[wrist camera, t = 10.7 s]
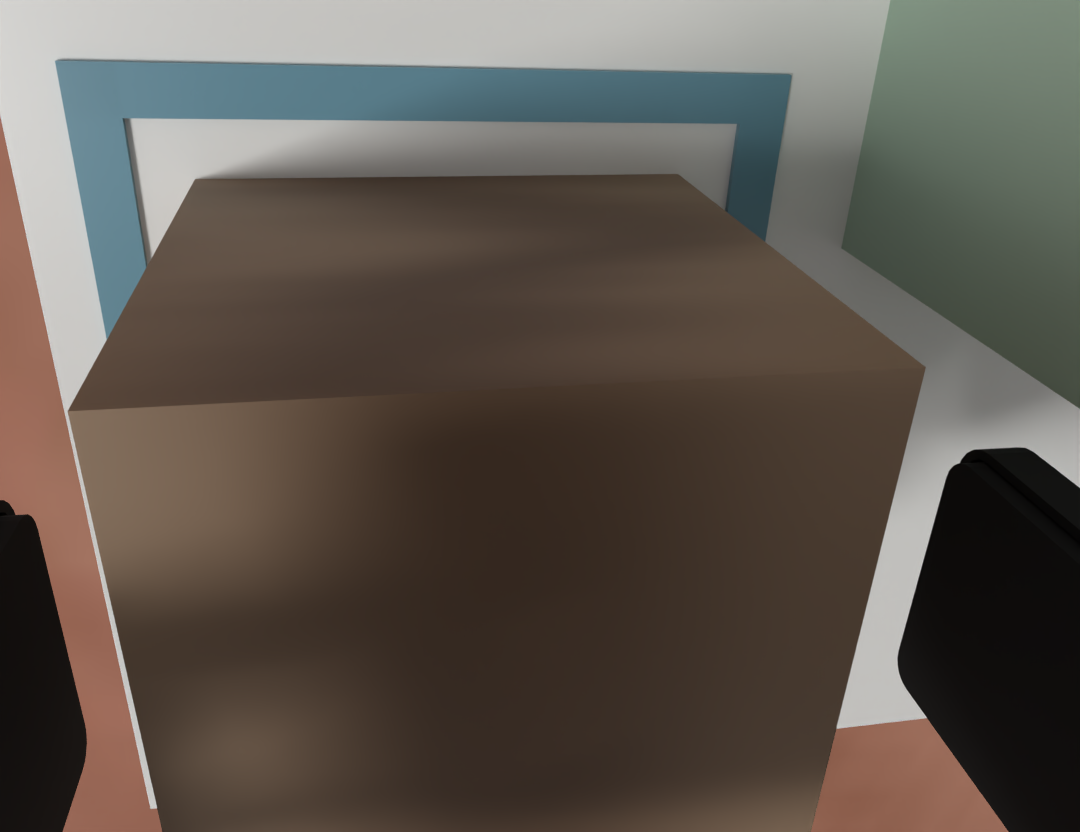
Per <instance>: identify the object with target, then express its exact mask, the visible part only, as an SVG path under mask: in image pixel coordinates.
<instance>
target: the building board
mask: <svg viewBox="0 0 1080 832" xmlns="http://www.w3.org/2000/svg"><path fill="white" fill-rule="evenodd" d="M889 5H890V0H0V116H1V121H2V125H3V130H4V135H5V139H6V144H7V148H8V153H9V158H10V162H11V167H12V172H13V176H14V181H15V185H16V190H17V195H18V199H19V204H20V208H21V213H22V218H23V222H24V227H25V232H26V236H27V241H28V245H29V250H30V255H31V259H32V264H33V268H34V273H35V278H36V282H37V287H38V291H39V296H40V301H41V305H42V310H43V315H44V319H45V324H46V328H47V333H48V338H49V342H50V347H51V351H52V356H53V361H54V365H55V370H56V375H57V379H58V384H59V388H60V393H61V398H62V402H63V407H64V411H65V416H66V421H67V425H68V430H69V435H70V439H71V444H72V448H73V453H74V458H75V462H76V467H77V471H78V476H79V481H80V485H81V490H82V494H83V499H84V504H85V508H86V513H87V518H88V522H89V527H90V531H91V536H92V541H93V545H94V550H95V554H96V559H97V564H98V568H99V573H100V578H101V582H102V587H103V591H104V596H105V601H106V605H107V610H108V614H109V619H110V624H111V628H112V633H113V638H114V642H115V647H116V651H117V656H118V661H119V665H120V670H121V674H122V679H123V684H124V688H125V693H126V697H127V702H128V707H129V711H130V716H131V721H132V725H133V730H134V734H135V739H136V744H137V748H138V753H139V757H140V762H141V767H142V771H143V776H144V781H145V785H146V790H147V794H148V799H149V804H150V808H151V809H153V808H157V805H156V801H155V796H154V792H153V787H152V783H151V778H150V774H149V770H148V765H147V761H146V756H145V752H144V747H143V743H142V739H141V734H140V730H139V725H138V721H137V716H136V712H135V708H134V703H133V699H132V694H131V690H130V686H129V681H128V677H127V672H126V668H125V663H124V659H123V655H122V650H121V646H120V641H119V637H118V632H117V628H116V624H115V619H114V615H113V610H112V606H111V601H110V597H109V593H108V588H107V584H106V579H105V575H104V570H103V566H102V562H101V557H100V553H99V548H98V544H97V540H96V535H95V531H94V526H93V522H92V517H91V513H90V509H89V504H88V500H87V495H86V491H85V486H84V482H83V478H82V473H81V469H80V464H79V460H78V455H77V451H76V447H75V442H74V438H73V433H72V429H71V425H70V420H69V416H68V410H69V408H70V406H71V404H72V402H73V400H74V399H75V397H76V395H77V393H78V391H79V389H80V388H81V386H82V384H83V382H84V380H85V379H86V377H87V375H88V373H89V371H90V369H91V368H92V366H93V364H94V362H95V360H96V358H97V357H98V355H99V353H100V351H101V349H102V348H103V346H104V344H105V342H106V340H107V338H108V337H109V335H110V333H111V331H112V329H113V328H114V326H115V324H116V322H117V320H118V318H119V317H120V315H121V313H122V311H123V309H124V307H125V306H126V304H127V302H128V300H129V298H130V297H131V295H132V293H133V291H134V289H135V287H136V286H137V284H138V282H139V280H140V278H141V277H142V275H143V273H144V271H145V269H146V267H147V266H148V264H149V262H150V260H151V258H152V256H153V255H154V253H155V251H156V249H157V247H158V246H159V244H160V242H161V240H162V238H163V236H164V235H165V233H166V231H167V229H168V227H169V226H170V224H171V222H172V220H173V218H174V216H175V215H176V213H177V211H178V209H179V207H180V205H181V204H182V202H183V200H184V198H185V196H186V195H187V193H188V191H189V189H190V187H191V185H192V184H193V182H194V180H195V179H252V178H345V177H438V176H532V175H625V174H679V175H680V176H681V177H682V178H684V179H685V180H686V181H688V182H689V183H690V184H691V185H693V186H694V187H695V188H697V189H698V190H699V191H700V192H702V193H703V194H704V195H706V196H707V197H708V198H709V199H711V200H712V201H713V202H715V203H716V204H717V205H718V206H720V207H721V208H722V209H723V210H725V211H726V212H727V213H729V214H730V215H731V216H732V217H734V218H735V219H736V220H738V221H739V222H740V223H741V224H743V225H744V226H745V227H747V228H748V229H749V230H750V231H752V232H753V233H754V234H756V235H757V236H758V237H759V238H761V239H762V240H763V241H765V242H766V243H767V244H768V245H770V246H771V247H772V248H774V249H775V250H776V251H777V252H779V253H780V254H781V255H782V256H784V257H785V258H786V259H788V260H789V261H790V262H791V263H793V264H794V265H795V266H797V267H798V268H799V269H800V270H802V271H803V272H804V273H806V274H807V275H808V276H809V277H811V278H812V279H813V280H815V281H816V282H817V283H818V284H820V285H821V286H822V287H824V288H825V289H826V290H827V291H829V292H830V293H831V294H833V295H834V296H835V297H836V298H838V299H839V300H840V301H841V302H843V303H844V304H845V305H847V306H848V307H849V308H850V309H852V310H853V311H854V312H856V313H857V314H858V315H859V316H861V317H862V318H863V319H865V320H866V321H867V322H868V323H870V324H871V325H872V326H874V327H875V328H876V329H877V330H879V331H880V332H881V333H883V334H884V335H885V336H886V337H888V338H889V339H890V340H892V341H893V342H894V343H895V344H897V345H898V346H899V347H900V348H902V349H903V350H904V351H906V352H907V353H908V354H909V355H911V356H912V357H913V358H915V359H916V360H917V361H918V362H920V363H921V364H922V365H924V366H925V367H926V369H925V373H924V377H923V381H922V385H921V389H920V393H919V397H918V401H917V405H916V409H915V413H914V417H913V421H912V425H911V429H910V433H909V437H908V441H907V445H906V449H905V453H904V457H903V461H902V466H901V470H900V474H899V478H898V482H897V486H896V490H895V494H894V498H893V502H892V506H891V510H890V514H889V518H888V522H887V526H886V530H885V534H884V538H883V542H882V546H881V550H880V554H879V558H878V562H877V566H876V570H875V574H874V578H873V582H872V587H871V591H870V595H869V599H868V603H867V607H866V611H865V615H864V619H863V623H862V627H861V631H860V635H859V639H858V643H857V647H856V651H855V655H854V659H853V663H852V667H851V671H850V675H849V679H848V683H847V687H846V691H845V695H844V699H843V703H842V708H841V712H840V716H839V720H838V724H837V728H836V729H838V728H846V727H855V726H863V725H872V724H880V723H889V722H897V721H906V720H915V719H923V718H927V717H926V716H925V714H924V713H923V712H922V710H921V709H920V707H919V706H918V705H917V703H916V702H915V701H914V699H913V698H912V696H911V695H910V694H909V692H908V691H907V689H906V688H905V686H904V684H903V683H902V680H901V677H900V675H899V670H898V661H897V657H898V651H899V647H900V643H901V640H902V636H903V633H904V629H905V625H906V622H907V618H908V614H909V611H910V607H911V604H912V600H913V596H914V593H915V589H916V585H917V582H918V578H919V575H920V571H921V567H922V564H923V560H924V556H925V553H926V549H927V546H928V542H929V538H930V535H931V531H932V527H933V524H934V520H935V517H936V513H937V509H938V506H939V502H940V498H941V495H942V491H943V488H944V484H945V480H946V477H947V475H948V472H949V470H950V469H951V468H952V467H953V466H954V465H956V464H958V463H960V461H961V459H962V458H963V457H964V456H965V455H966V453H968V452H970V451H972V450H975V449H995V448H1014V447H1021V448H1027V449H1029V450H1031V451H1033V452H1034V453H1036V454H1037V455H1038V456H1039V457H1041V458H1042V459H1043V460H1045V461H1046V462H1047V463H1048V464H1050V465H1051V466H1052V467H1054V468H1055V469H1056V470H1057V471H1059V472H1060V473H1061V474H1063V475H1064V476H1065V477H1066V478H1068V479H1069V480H1070V481H1072V482H1073V483H1074V484H1075V485H1077V486H1078V487H1079V488H1080V409H1079V408H1078V407H1076V406H1075V405H1073V404H1072V403H1070V402H1069V401H1067V400H1066V399H1064V398H1063V397H1061V396H1060V395H1058V394H1057V393H1055V392H1054V391H1052V390H1051V389H1050V388H1048V387H1047V386H1045V385H1044V384H1042V383H1041V382H1039V381H1038V380H1036V379H1035V378H1033V377H1032V376H1030V375H1029V374H1027V373H1026V372H1024V371H1023V370H1021V369H1020V368H1018V367H1017V366H1015V365H1014V364H1012V363H1011V362H1009V361H1008V360H1006V359H1005V358H1003V357H1002V356H1001V355H999V354H998V353H996V352H995V351H993V350H992V349H990V348H989V347H987V346H986V345H984V344H983V343H981V342H980V341H978V340H977V339H975V338H974V337H972V336H971V335H969V334H968V333H966V332H965V331H963V330H962V329H960V328H959V327H957V326H956V325H954V324H953V323H952V322H950V321H949V320H947V319H946V318H944V317H943V316H941V315H940V314H938V313H937V312H935V311H934V310H932V309H931V308H929V307H928V306H926V305H925V304H923V303H922V302H920V301H919V300H917V299H916V298H914V297H913V296H911V295H910V294H908V293H907V292H905V291H904V290H903V289H901V288H900V287H898V286H897V285H895V284H894V283H892V282H891V281H889V280H888V279H886V278H885V277H883V276H882V275H880V274H879V273H877V272H876V271H874V270H873V269H871V268H870V267H868V266H867V265H865V264H864V263H862V262H861V261H859V260H858V259H856V258H855V257H854V256H852V255H851V254H849V253H848V252H846V251H845V250H843V249H842V248H841V247H842V242H843V237H844V232H845V227H846V222H847V217H848V212H849V207H850V202H851V197H852V192H853V187H854V182H855V177H856V171H857V166H858V161H859V156H860V151H861V146H862V141H863V136H864V131H865V126H866V121H867V116H868V111H869V106H870V101H871V96H872V91H873V86H874V81H875V76H876V71H877V65H878V60H879V55H880V50H881V45H882V40H883V35H884V30H885V25H886V20H887V15H888V10H889Z"/></svg>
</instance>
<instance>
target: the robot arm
mask: <svg viewBox="0 0 1080 832" xmlns="http://www.w3.org/2000/svg"><path fill="white" fill-rule="evenodd" d="M897 661H898V670H899V675H900V677H901V680H902V683H903V684H904V686H905V688H906V689H907V691H908V692H909V694H910V695H911V696H912V698H913V699H914V701H915V702H916V703H917V705H918V706H919V707H920V709H921V710H922V712H923V713H924V714H925V716H926V717H927V719H928V720H929V721H930V723H931V724H932V726H933V727H934V728H935V730H936V731H937V733H938V734H939V735H940V737H941V738H942V739H943V741H944V742H945V744H946V745H947V746H948V748H949V749H950V751H951V752H952V753H953V755H954V756H955V758H956V759H957V760H958V762H959V763H960V764H961V766H962V767H963V769H964V770H965V771H966V773H967V774H968V776H969V777H970V778H971V780H972V781H973V783H974V784H975V785H976V787H977V788H978V790H979V791H980V792H981V794H982V795H983V796H984V798H985V799H986V801H987V802H988V803H989V805H990V806H991V808H992V809H993V810H994V812H995V813H996V815H997V816H998V817H999V819H1000V820H1001V821H1002V823H1003V824H1004V826H1005V827H1006V828H1007V830H1008V831H1009V832H1080V488H1079V487H1078V486H1077V485H1075V484H1074V483H1073V482H1072V481H1070V480H1069V479H1068V478H1066V477H1065V476H1064V475H1063V474H1061V473H1060V472H1059V471H1057V470H1056V469H1055V468H1054V467H1052V466H1051V465H1050V464H1048V463H1047V462H1046V461H1045V460H1043V459H1042V458H1041V457H1039V456H1038V455H1037V454H1036V453H1034V452H1033V451H1031V450H1029V449H1027V448H1021V447H1014V448H995V449H975V450H972V451H970V452H968V453H966V455H965V456H964V457H963V458H962V459H961V461H960V463H958V464H956V465H954V466H953V467H952V468H951V469H950V470H949V472H948V475H947V477H946V480H945V484H944V488H943V491H942V495H941V498H940V502H939V506H938V509H937V513H936V517H935V520H934V524H933V527H932V531H931V535H930V538H929V542H928V546H927V549H926V553H925V556H924V560H923V564H922V567H921V571H920V575H919V578H918V582H917V585H916V589H915V593H914V596H913V600H912V604H911V607H910V611H909V614H908V618H907V622H906V625H905V629H904V633H903V636H902V640H901V643H900V647H899V651H898V657H897ZM86 745H87V738H86V728H85V723H84V719H83V715H82V710H81V706H80V702H79V698H78V694H77V690H76V686H75V682H74V677H73V673H72V669H71V665H70V661H69V657H68V653H67V648H66V644H65V640H64V636H63V632H62V628H61V624H60V620H59V615H58V611H57V607H56V603H55V599H54V595H53V591H52V586H51V582H50V578H49V574H48V570H47V566H46V562H45V558H44V553H43V549H42V545H41V541H40V537H39V533H38V529H37V526H36V523H35V521H34V519H33V518H32V517H31V516H30V515H28V514H27V515H15V513H14V510H13V509H12V507H11V506H10V504H9V503H7V502H6V501H4V500H0V832H63V828H64V825H65V822H66V819H67V816H68V813H69V810H70V807H71V804H72V801H73V798H74V795H75V792H76V789H77V786H78V783H79V779H80V776H81V773H82V770H83V767H84V763H85V757H86Z"/></svg>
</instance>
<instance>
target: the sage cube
mask: <svg viewBox="0 0 1080 832" xmlns="http://www.w3.org/2000/svg"><path fill="white" fill-rule="evenodd" d="M841 248H842V249H843V250H845V251H846V252H848V253H849V254H851V255H852V256H854V257H855V258H856V259H858V260H859V261H861V262H862V263H864V264H865V265H867V266H868V267H870V268H871V269H873V270H874V271H876V272H877V273H879V274H880V275H882V276H883V277H885V278H886V279H888V280H889V281H891V282H892V283H894V284H895V285H897V286H898V287H900V288H901V289H903V290H904V291H905V292H907V293H908V294H910V295H911V296H913V297H914V298H916V299H917V300H919V301H920V302H922V303H923V304H925V305H926V306H928V307H929V308H931V309H932V310H934V311H935V312H937V313H938V314H940V315H941V316H943V317H944V318H946V319H947V320H949V321H950V322H952V323H953V324H954V325H956V326H957V327H959V328H960V329H962V330H963V331H965V332H966V333H968V334H969V335H971V336H972V337H974V338H975V339H977V340H978V341H980V342H981V343H983V344H984V345H986V346H987V347H989V348H990V349H992V350H993V351H995V352H996V353H998V354H999V355H1001V356H1002V357H1003V358H1005V359H1006V360H1008V361H1009V362H1011V363H1012V364H1014V365H1015V366H1017V367H1018V368H1020V369H1021V370H1023V371H1024V372H1026V373H1027V374H1029V375H1030V376H1032V377H1033V378H1035V379H1036V380H1038V381H1039V382H1041V383H1042V384H1044V385H1045V386H1047V387H1048V388H1050V389H1051V390H1052V391H1054V392H1055V393H1057V394H1058V395H1060V396H1061V397H1063V398H1064V399H1066V400H1067V401H1069V402H1070V403H1072V404H1073V405H1075V406H1076V407H1078V408H1079V409H1080V0H890V5H889V10H888V15H887V20H886V25H885V30H884V35H883V40H882V45H881V50H880V55H879V60H878V65H877V71H876V76H875V81H874V86H873V91H872V96H871V101H870V106H869V111H868V116H867V121H866V126H865V131H864V136H863V141H862V146H861V151H860V156H859V161H858V166H857V171H856V177H855V182H854V187H853V192H852V197H851V202H850V207H849V212H848V217H847V222H846V227H845V232H844V237H843V242H842V247H841Z"/></svg>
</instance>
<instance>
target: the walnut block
mask: <svg viewBox="0 0 1080 832" xmlns="http://www.w3.org/2000/svg"><path fill="white" fill-rule="evenodd" d="M925 369H926V367H925V366H924V365H922V364H921V363H920V362H918V361H917V360H916V359H915V358H913V357H912V356H911V355H909V354H908V353H907V352H906V351H904V350H903V349H902V348H900V347H899V346H898V345H897V344H895V343H894V342H893V341H892V340H890V339H889V338H888V337H886V336H885V335H884V334H883V333H881V332H880V331H879V330H877V329H876V328H875V327H874V326H872V325H871V324H870V323H868V322H867V321H866V320H865V319H863V318H862V317H861V316H859V315H858V314H857V313H856V312H854V311H853V310H852V309H850V308H849V307H848V306H847V305H845V304H844V303H843V302H841V301H840V300H839V299H838V298H836V297H835V296H834V295H833V294H831V293H830V292H829V291H827V290H826V289H825V288H824V287H822V286H821V285H820V284H818V283H817V282H816V281H815V280H813V279H812V278H811V277H809V276H808V275H807V274H806V273H804V272H803V271H802V270H800V269H799V268H798V267H797V266H795V265H794V264H793V263H791V262H790V261H789V260H788V259H786V258H785V257H784V256H782V255H781V254H780V253H779V252H777V251H776V250H775V249H774V248H772V247H771V246H770V245H768V244H767V243H766V242H765V241H763V240H762V239H761V238H759V237H758V236H757V235H756V234H754V233H753V232H752V231H750V230H749V229H748V228H747V227H745V226H744V225H743V224H741V223H740V222H739V221H738V220H736V219H735V218H734V217H732V216H731V215H730V214H729V213H727V212H726V211H725V210H723V209H722V208H721V207H720V206H718V205H717V204H716V203H715V202H713V201H712V200H711V199H709V198H708V197H707V196H706V195H704V194H703V193H702V192H700V191H699V190H698V189H697V188H695V187H694V186H693V185H691V184H690V183H689V182H688V181H686V180H685V179H684V178H682V177H681V176H680V175H679V174H625V175H532V176H438V177H345V178H252V179H195V180H194V182H193V184H192V185H191V187H190V189H189V191H188V193H187V195H186V196H185V198H184V200H183V202H182V204H181V205H180V207H179V209H178V211H177V213H176V215H175V216H174V218H173V220H172V222H171V224H170V226H169V227H168V229H167V231H166V233H165V235H164V236H163V238H162V240H161V242H160V244H159V246H158V247H157V249H156V251H155V253H154V255H153V256H152V258H151V260H150V262H149V264H148V266H147V267H146V269H145V271H144V273H143V275H142V277H141V278H140V280H139V282H138V284H137V286H136V287H135V289H134V291H133V293H132V295H131V297H130V298H129V300H128V302H127V304H126V306H125V307H124V309H123V311H122V313H121V315H120V317H119V318H118V320H117V322H116V324H115V326H114V328H113V329H112V331H111V333H110V335H109V337H108V338H107V340H106V342H105V344H104V346H103V348H102V349H101V351H100V353H99V355H98V357H97V358H96V360H95V362H94V364H93V366H92V368H91V369H90V371H89V373H88V375H87V377H86V379H85V380H84V382H83V384H82V386H81V388H80V389H79V391H78V393H77V395H76V397H75V399H74V400H73V402H72V404H71V406H70V408H69V410H68V416H69V420H70V425H71V429H72V433H73V438H74V442H75V447H76V451H77V455H78V460H79V464H80V469H81V473H82V478H83V482H84V486H85V491H86V495H87V500H88V504H89V509H90V513H91V517H92V522H93V526H94V531H95V535H96V540H97V544H98V548H99V553H100V557H101V562H102V566H103V570H104V575H105V579H106V584H107V588H108V593H109V597H110V601H111V606H112V610H113V615H114V619H115V624H116V628H117V632H118V637H119V641H120V646H121V650H122V655H123V659H124V663H125V668H126V672H127V677H128V681H129V686H130V690H131V694H132V699H133V703H134V708H135V712H136V716H137V721H138V725H139V730H140V734H141V739H142V743H143V747H144V752H145V756H146V761H147V765H148V770H149V774H150V778H151V783H152V787H153V792H154V796H155V801H156V805H157V809H158V814H159V818H160V823H161V827H162V831H163V832H811V829H812V824H813V820H814V816H815V812H816V808H817V804H818V800H819V796H820V792H821V788H822V784H823V780H824V776H825V772H826V768H827V764H828V760H829V756H830V752H831V748H832V744H833V740H834V736H835V732H836V728H837V724H838V720H839V716H840V712H841V708H842V703H843V699H844V695H845V691H846V687H847V683H848V679H849V675H850V671H851V667H852V663H853V659H854V655H855V651H856V647H857V643H858V639H859V635H860V631H861V627H862V623H863V619H864V615H865V611H866V607H867V603H868V599H869V595H870V591H871V587H872V582H873V578H874V574H875V570H876V566H877V562H878V558H879V554H880V550H881V546H882V542H883V538H884V534H885V530H886V526H887V522H888V518H889V514H890V510H891V506H892V502H893V498H894V494H895V490H896V486H897V482H898V478H899V474H900V470H901V466H902V461H903V457H904V453H905V449H906V445H907V441H908V437H909V433H910V429H911V425H912V421H913V417H914V413H915V409H916V405H917V401H918V397H919V393H920V389H921V385H922V381H923V377H924V373H925Z"/></svg>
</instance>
